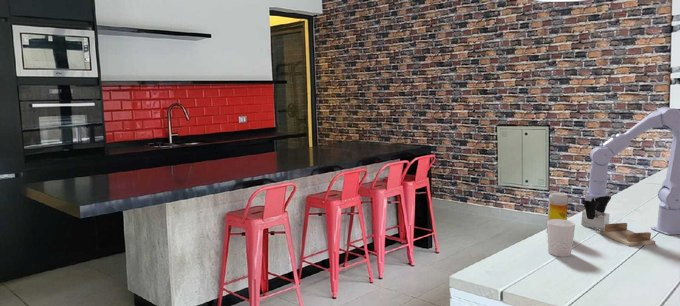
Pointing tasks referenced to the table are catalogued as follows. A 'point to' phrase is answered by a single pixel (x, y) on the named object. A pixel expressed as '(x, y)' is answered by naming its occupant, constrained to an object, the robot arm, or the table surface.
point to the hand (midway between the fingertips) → (595, 217)
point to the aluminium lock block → (595, 220)
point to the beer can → (557, 206)
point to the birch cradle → (626, 235)
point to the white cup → (560, 237)
